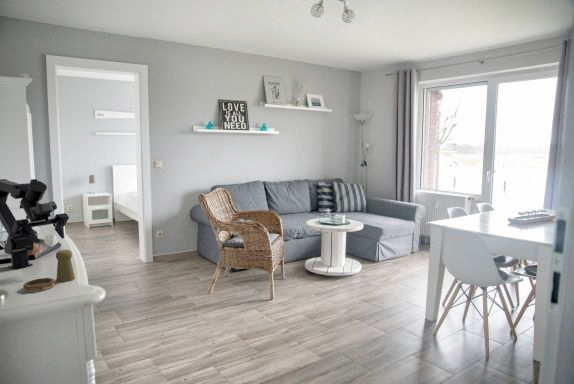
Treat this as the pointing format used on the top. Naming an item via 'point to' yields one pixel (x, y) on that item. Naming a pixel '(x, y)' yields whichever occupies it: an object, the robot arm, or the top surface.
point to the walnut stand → (39, 285)
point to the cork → (64, 266)
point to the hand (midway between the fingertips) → (51, 240)
